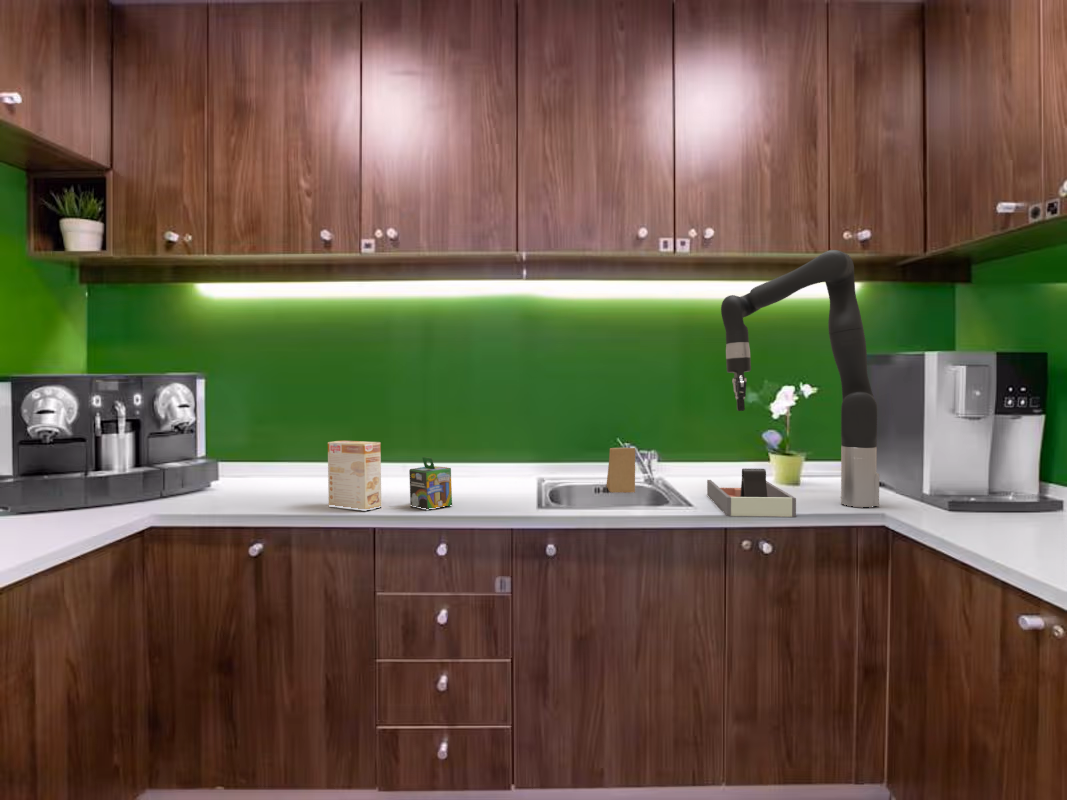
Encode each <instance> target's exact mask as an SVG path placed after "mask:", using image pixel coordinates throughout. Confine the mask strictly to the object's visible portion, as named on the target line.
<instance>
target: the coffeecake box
mask: <svg viewBox="0 0 1067 800" xmlns="http://www.w3.org/2000/svg"><path fill="white" fill-rule="evenodd" d="M381 444H382V443H381V442H380V441H360V440H335V441H328V442H327V474H328V475H327V478H328V479H327V480H328V488H327V489H328V506H329V505H335V506H343V507H351V508H358V509H370V508H374V507H379V506H381V507H382V466H381V465H382V463H381V462H382V459H381V458H382V456H381V453H382V452H381Z"/></svg>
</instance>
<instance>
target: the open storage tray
mask: <svg viewBox="0 0 1067 800" xmlns="http://www.w3.org/2000/svg"><path fill="white" fill-rule="evenodd" d="M706 482H707V485H706V488H707V489H706V491H707V494H706V496H707V495H708V496H709V497H710V498H709V499H710V500H711V499H712V500H711V501H712V502H713V501H714V502H713V503H714V504H715V505H716V506H717V507H718V508H719V509H720V510H721V511H722V510H723V511H724V512H723V511H722V512H723V513H724V515H726V516H728V517H782V518H785V517H788V518H789V517H790V518H791V517H792V518H796V517H797V498H796V497H795V496H793V495H792V494H789V493H788V492H786V491H784V490H782V488H779V487H778V486H777V485H774V484H772V483H770V482H769V481H767V480H766V486H767V497H740V494H741V487H720V486H718V485H717V484H716V483H715V482H714V481H712V480H711V479H707V481H706ZM708 496H707V497H708Z"/></svg>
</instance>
